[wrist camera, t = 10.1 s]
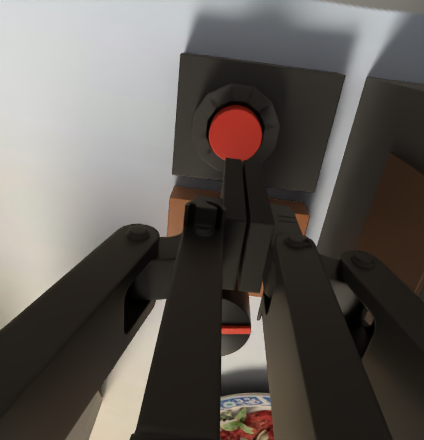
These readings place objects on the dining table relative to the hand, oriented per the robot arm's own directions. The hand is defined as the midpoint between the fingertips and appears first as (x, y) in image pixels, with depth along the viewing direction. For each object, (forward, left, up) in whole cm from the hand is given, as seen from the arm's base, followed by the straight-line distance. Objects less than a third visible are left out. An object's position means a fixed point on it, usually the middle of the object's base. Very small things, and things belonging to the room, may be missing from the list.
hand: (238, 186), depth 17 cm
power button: (0, 0, -12) cm, 12 cm away
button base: (+1, +1, -16) cm, 16 cm away
